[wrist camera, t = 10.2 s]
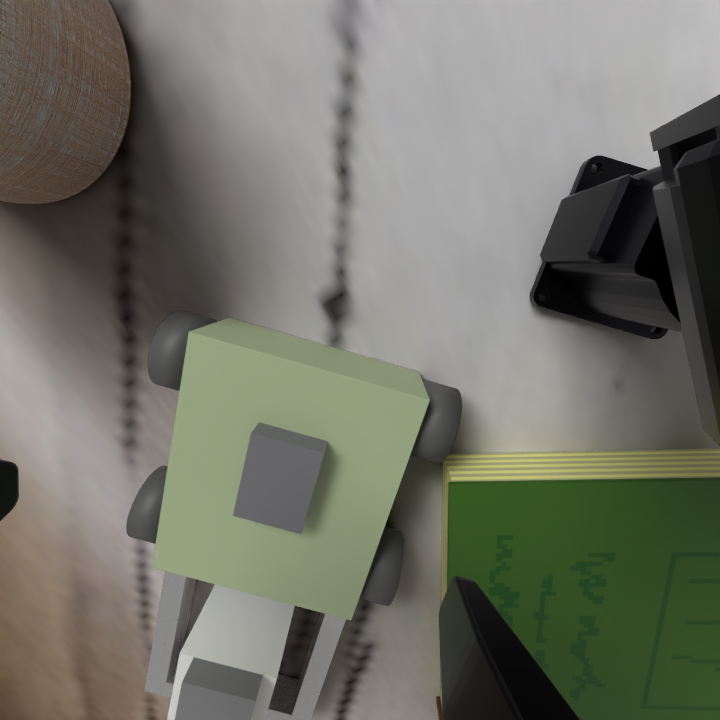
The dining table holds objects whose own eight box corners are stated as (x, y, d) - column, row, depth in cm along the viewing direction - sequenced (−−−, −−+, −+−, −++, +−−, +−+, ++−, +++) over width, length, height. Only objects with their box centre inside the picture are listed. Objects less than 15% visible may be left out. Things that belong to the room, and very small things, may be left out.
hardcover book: (435, 693, 25) (445, 767, 21) (436, 445, 20) (449, 484, 16) (826, 700, 23) (909, 781, 20) (926, 434, 18) (1060, 475, 15)
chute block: (303, 569, 22) (270, 704, 15) (280, 651, 24) (241, 805, 17) (232, 550, 22) (166, 678, 15) (213, 634, 24) (148, 782, 17)
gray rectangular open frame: (358, 560, 21) (356, 589, 20) (311, 696, 24) (306, 732, 23) (189, 514, 21) (170, 539, 19) (163, 657, 24) (144, 691, 22)
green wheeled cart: (451, 379, 18) (477, 419, 14) (381, 569, 22) (382, 656, 17) (196, 306, 18) (130, 321, 13) (164, 510, 21) (101, 582, 16)
